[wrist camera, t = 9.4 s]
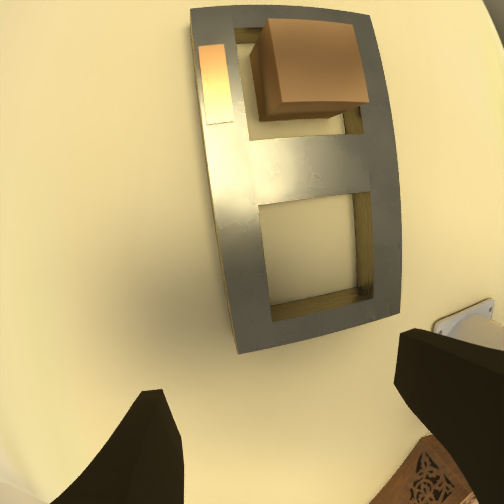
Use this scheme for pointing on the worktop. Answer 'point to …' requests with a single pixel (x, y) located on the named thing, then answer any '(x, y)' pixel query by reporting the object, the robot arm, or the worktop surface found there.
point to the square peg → (307, 70)
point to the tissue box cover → (427, 478)
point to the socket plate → (295, 181)
